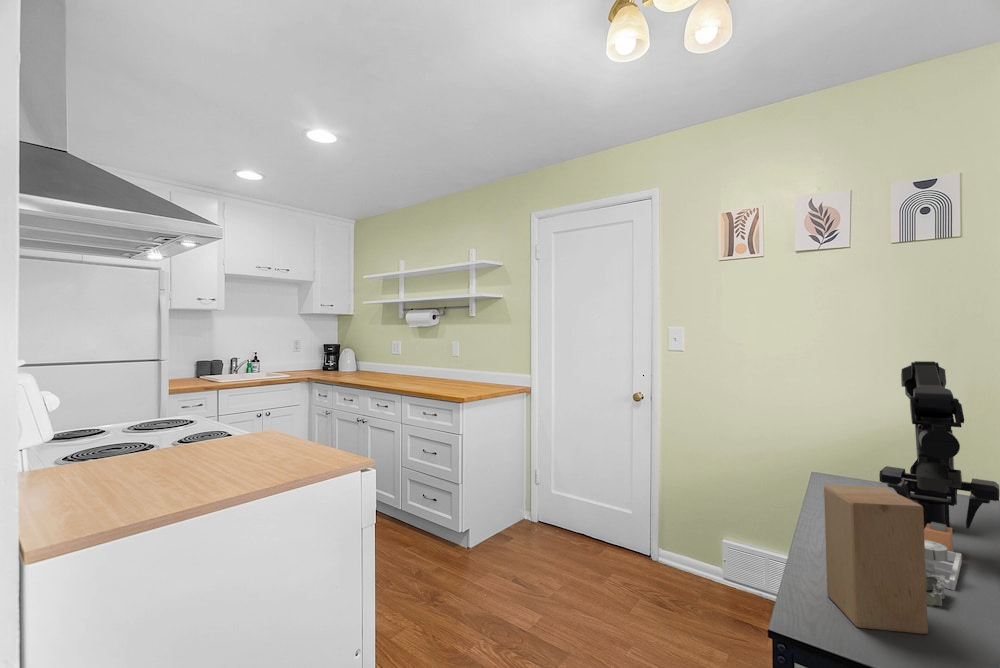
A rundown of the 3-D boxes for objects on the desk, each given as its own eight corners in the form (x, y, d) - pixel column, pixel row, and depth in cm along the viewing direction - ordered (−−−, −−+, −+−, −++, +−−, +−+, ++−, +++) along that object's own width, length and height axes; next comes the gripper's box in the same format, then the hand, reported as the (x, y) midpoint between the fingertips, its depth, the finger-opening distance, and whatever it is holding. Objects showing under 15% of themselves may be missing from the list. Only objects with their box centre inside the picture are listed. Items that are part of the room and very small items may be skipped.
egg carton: (863, 587, 87) (862, 565, 87) (874, 574, 92) (873, 553, 92) (940, 611, 79) (939, 587, 79) (949, 596, 83) (948, 573, 84)
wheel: (913, 547, 94) (912, 536, 94) (948, 555, 90) (948, 544, 90) (909, 554, 90) (908, 544, 91) (945, 564, 87) (945, 552, 87)
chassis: (913, 550, 101) (912, 540, 101) (961, 562, 96) (961, 551, 96) (901, 575, 90) (900, 564, 91) (954, 590, 85) (954, 578, 85)
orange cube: (928, 545, 104) (927, 519, 104) (953, 551, 101) (951, 524, 101) (925, 552, 101) (924, 525, 101) (950, 558, 98) (949, 530, 98)
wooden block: (929, 635, 72) (924, 505, 73) (856, 628, 74) (852, 502, 75) (889, 601, 82) (885, 486, 82) (826, 595, 84) (822, 483, 84)
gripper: (873, 449, 103) (875, 520, 103) (996, 464, 89) (1000, 546, 89) (883, 441, 110) (885, 507, 110) (998, 454, 97) (1001, 530, 96)
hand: (937, 522), depth 101 cm, fingers open, 9 cm apart
